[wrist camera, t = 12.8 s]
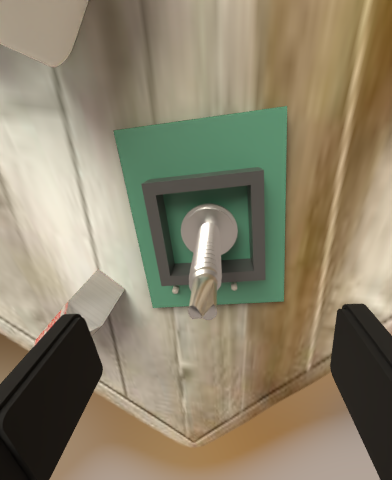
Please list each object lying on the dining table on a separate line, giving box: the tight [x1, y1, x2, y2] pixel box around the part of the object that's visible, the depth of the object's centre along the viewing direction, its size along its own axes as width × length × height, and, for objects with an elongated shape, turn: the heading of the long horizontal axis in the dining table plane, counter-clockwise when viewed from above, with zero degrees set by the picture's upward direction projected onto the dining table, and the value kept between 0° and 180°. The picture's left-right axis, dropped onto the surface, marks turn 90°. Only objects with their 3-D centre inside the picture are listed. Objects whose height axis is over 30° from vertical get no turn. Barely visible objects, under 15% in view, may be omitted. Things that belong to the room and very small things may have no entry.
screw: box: [181, 203, 238, 320], centre depth 17 cm, size 13×5×5 cm
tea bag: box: [33, 269, 125, 347], centre depth 24 cm, size 4×7×10 cm, turn 138°
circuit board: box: [114, 106, 287, 308], centre depth 22 cm, size 14×18×4 cm
